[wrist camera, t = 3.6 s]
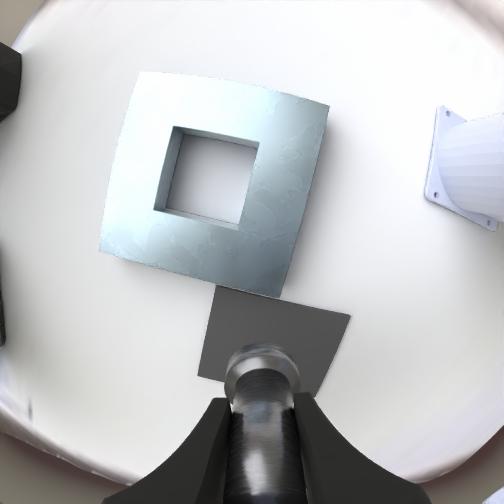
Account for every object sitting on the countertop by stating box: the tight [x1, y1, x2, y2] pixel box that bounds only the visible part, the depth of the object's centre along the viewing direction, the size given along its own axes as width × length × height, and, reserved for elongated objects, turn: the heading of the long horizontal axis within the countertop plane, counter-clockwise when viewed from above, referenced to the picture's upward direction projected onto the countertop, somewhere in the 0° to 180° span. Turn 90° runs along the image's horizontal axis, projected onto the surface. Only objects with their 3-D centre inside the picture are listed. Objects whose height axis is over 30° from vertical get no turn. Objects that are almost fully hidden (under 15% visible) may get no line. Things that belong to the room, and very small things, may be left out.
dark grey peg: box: [223, 342, 308, 504], centre depth 10 cm, size 4×4×8 cm
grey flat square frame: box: [99, 72, 330, 298], centre depth 17 cm, size 12×12×2 cm
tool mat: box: [197, 285, 351, 397], centre depth 20 cm, size 10×8×1 cm
